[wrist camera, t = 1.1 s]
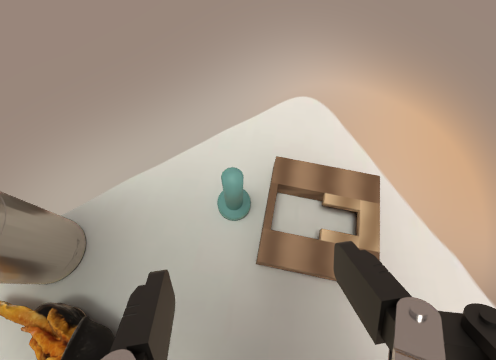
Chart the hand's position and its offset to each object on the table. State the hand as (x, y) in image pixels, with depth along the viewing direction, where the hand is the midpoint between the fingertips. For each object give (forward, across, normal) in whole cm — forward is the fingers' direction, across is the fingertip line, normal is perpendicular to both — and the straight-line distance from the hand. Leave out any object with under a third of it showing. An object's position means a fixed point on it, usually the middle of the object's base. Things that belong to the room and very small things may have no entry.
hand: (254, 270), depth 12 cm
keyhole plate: (+24, -12, +14) cm, 30 cm away
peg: (+27, 0, +10) cm, 29 cm away
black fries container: (+17, +24, +20) cm, 36 cm away
